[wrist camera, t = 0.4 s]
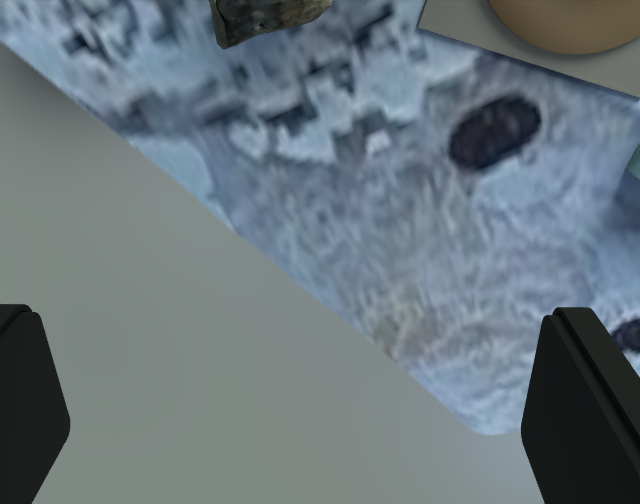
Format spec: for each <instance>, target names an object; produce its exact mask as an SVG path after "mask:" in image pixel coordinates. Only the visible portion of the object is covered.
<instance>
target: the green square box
mask: <svg viewBox="0 0 640 504" xmlns="http://www.w3.org/2000/svg"><path fill="white" fill-rule="evenodd" d="M626 170H628V171H629V172H630V173H631V174H633V175H634V176H635V177H636V178H638V179H639V180H640V144H639V146H638V148H637V150H636V151H635V153H634V155H633V157H632V158H631V160H630V162H629V164H628V165H627V167H626Z"/></svg>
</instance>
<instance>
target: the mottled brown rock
mask: <svg viewBox="0 0 640 504" xmlns="http://www.w3.org/2000/svg"><path fill="white" fill-rule="evenodd" d="M332 1H333V0H216V4H215V2H214V0H209V3H210V7H211V11H212V17H213V22H214V28H215V34H216V40H217V44H218V45H219V46H220V47H221V48H222V49H227V48H229V47H232V46H235V45H238V44H239V43H241V42H243V41H245V40H247V39H250V38H252V37H254V36H257V35H259V34H263V33H268V32H273V31H278V30H282V29H286V28H290V27H294V26H297V25H301V24H305V23H308V22H312V21H314V20H315V19H317V18H318V17H319V16H320V15H321V14H322V13H323V12H324V11H325V10H326V9H327V8H328V7H330V6H331V5H332ZM365 4H366V2H365Z"/></svg>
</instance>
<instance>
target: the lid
mask: <svg viewBox="0 0 640 504" xmlns="http://www.w3.org/2000/svg"><path fill="white" fill-rule="evenodd" d="M487 1H488V3H489V5H490V7H491V8H492V10H493V11H494V13H495V14H496V16H497V17H498V18H499V19H500V21H501V22H502V23H503V24H504V25H505V26H506V27H507V28H508V29H509V30H510V31H512V32H513V33H514V34H515V35H517V36H518V37H520V38H522V39H523V40H525V41H527V42H528V43H530V44H532V45H534V46H537V47H539V48H542V49H544V50H548V51H552V52H556V53H564V54H589V53H594V52H600V51H604V50H608V49H611V48H614V47H617V46H620V45H622V44H624V43H627V42H629V41H631V40H633V39H635V38H637V37H638V36H640V0H487Z"/></svg>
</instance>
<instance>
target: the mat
mask: <svg viewBox="0 0 640 504" xmlns="http://www.w3.org/2000/svg"><path fill="white" fill-rule="evenodd" d="M417 27H418V28H421V29H424V30H427V31H430V32H434V33H437V34H440V35H443V36H446V37H449V38H453V39H456V40H459V41H462V42H465V43H468V44H472V45H475V46H478V47H481V48H484V49H487V50H490V51H494V52H497V53H500V54H503V55H506V56H509V57H513V58H516V59H519V60H522V61H525V62H528V63H532V64H535V65H538V66H541V67H544V68H547V69H551V70H554V71H557V72H560V73H563V74H566V75H569V76H573V77H576V78H579V79H582V80H585V81H588V82H592V83H595V84H598V85H601V86H604V87H607V88H611V89H614V90H617V91H620V92H623V93H626V94H630V95H633V96H636V97H639V98H640V36H638V37H637V38H635V39H633V40H631V41H629V42H627V43H624V44H622V45H620V46H617V47H614V48H611V49H608V50H604V51H600V52H594V53H589V54H564V53H556V52H552V51H548V50H544V49H542V48H539V47H537V46H534V45H532V44H530V43H528V42H527V41H525V40H523V39H522V38H520V37H518V36H517V35H515V34H514V33H513V32H512V31H510V30H509V29H508V28H507V27H506V26H505V25H504V24H503V23H502V22H501V21H500V19H499V18H498V17H497V16H496V14H495V13H494V11H493V10H492V8H491V7H490V5H489V3H488V1H487V0H426V2H425V5H424V8H423V11H422V14H421V17H420V20H419V23H418V26H417Z"/></svg>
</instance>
